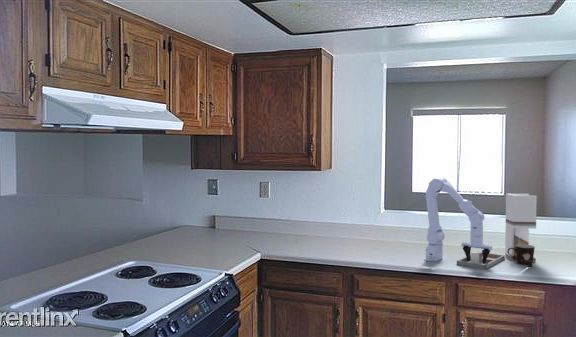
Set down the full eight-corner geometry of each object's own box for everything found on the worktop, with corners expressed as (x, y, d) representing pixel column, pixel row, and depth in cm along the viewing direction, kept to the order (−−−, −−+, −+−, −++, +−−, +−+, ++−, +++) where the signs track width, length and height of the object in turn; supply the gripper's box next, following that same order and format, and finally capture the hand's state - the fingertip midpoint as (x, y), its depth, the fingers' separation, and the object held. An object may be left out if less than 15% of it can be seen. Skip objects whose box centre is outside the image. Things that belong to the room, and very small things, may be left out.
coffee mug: (536, 265, 220) (536, 245, 220) (532, 268, 214) (532, 248, 214) (511, 261, 228) (511, 242, 228) (506, 264, 222) (506, 245, 221)
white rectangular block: (478, 265, 216) (479, 253, 216) (470, 264, 219) (470, 252, 219) (481, 264, 219) (481, 252, 219) (473, 262, 222) (473, 251, 222)
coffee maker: (512, 261, 228) (513, 195, 227) (505, 256, 239) (505, 193, 237) (535, 262, 226) (536, 195, 225) (527, 257, 237) (528, 193, 236)
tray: (485, 271, 209) (485, 265, 209) (456, 266, 219) (456, 260, 219) (504, 261, 229) (504, 255, 229) (477, 256, 239) (477, 251, 239)
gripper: (494, 236, 217) (494, 263, 217) (465, 232, 227) (465, 258, 227) (489, 238, 211) (489, 265, 212) (459, 234, 221) (459, 260, 222)
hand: (476, 262), depth 219 cm, fingers open, 7 cm apart
